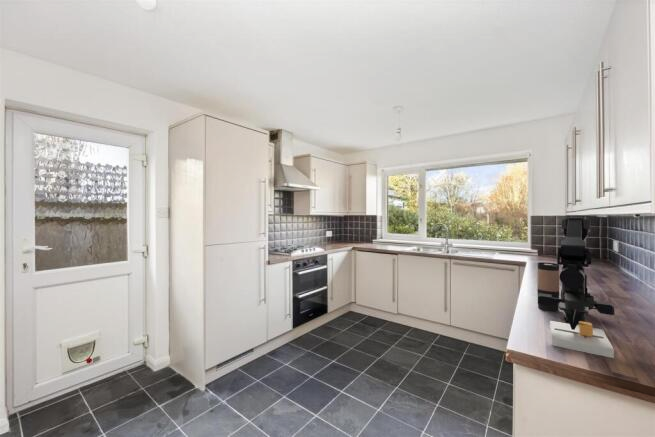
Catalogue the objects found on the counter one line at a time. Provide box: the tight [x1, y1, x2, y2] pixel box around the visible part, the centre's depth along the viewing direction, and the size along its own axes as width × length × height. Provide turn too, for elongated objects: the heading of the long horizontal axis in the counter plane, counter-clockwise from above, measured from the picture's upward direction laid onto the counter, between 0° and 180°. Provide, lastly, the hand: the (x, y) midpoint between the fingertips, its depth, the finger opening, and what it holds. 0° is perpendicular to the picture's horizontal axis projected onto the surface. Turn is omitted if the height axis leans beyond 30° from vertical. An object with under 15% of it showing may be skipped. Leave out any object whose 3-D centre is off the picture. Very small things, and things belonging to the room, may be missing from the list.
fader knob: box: [579, 321, 594, 337], centre depth 92 cm, size 4×3×3 cm
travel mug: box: [536, 261, 560, 313], centre depth 125 cm, size 8×8×20 cm
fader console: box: [549, 320, 615, 359], centre depth 93 cm, size 18×14×3 cm
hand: (572, 329), depth 94 cm, fingers closed
